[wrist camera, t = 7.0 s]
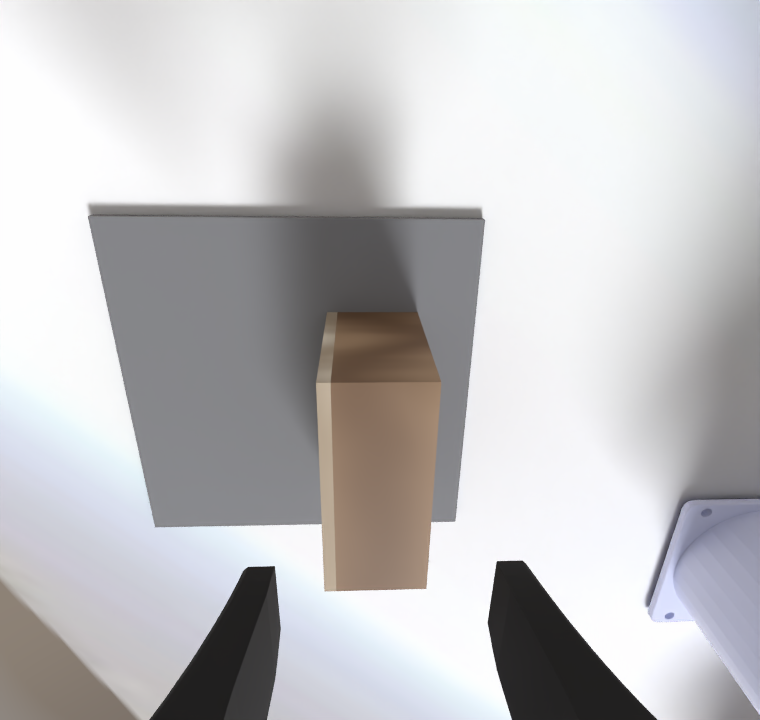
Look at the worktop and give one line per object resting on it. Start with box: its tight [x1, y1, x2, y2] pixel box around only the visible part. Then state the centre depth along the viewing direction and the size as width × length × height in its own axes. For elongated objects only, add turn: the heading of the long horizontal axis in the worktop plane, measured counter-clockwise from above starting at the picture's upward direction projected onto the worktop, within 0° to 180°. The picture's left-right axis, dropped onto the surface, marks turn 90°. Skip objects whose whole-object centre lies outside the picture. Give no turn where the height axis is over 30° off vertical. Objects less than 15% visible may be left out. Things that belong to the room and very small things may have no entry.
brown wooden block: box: [316, 312, 441, 591], centre depth 18 cm, size 4×8×6 cm, turn 179°
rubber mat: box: [88, 215, 485, 527], centre depth 21 cm, size 14×14×1 cm
